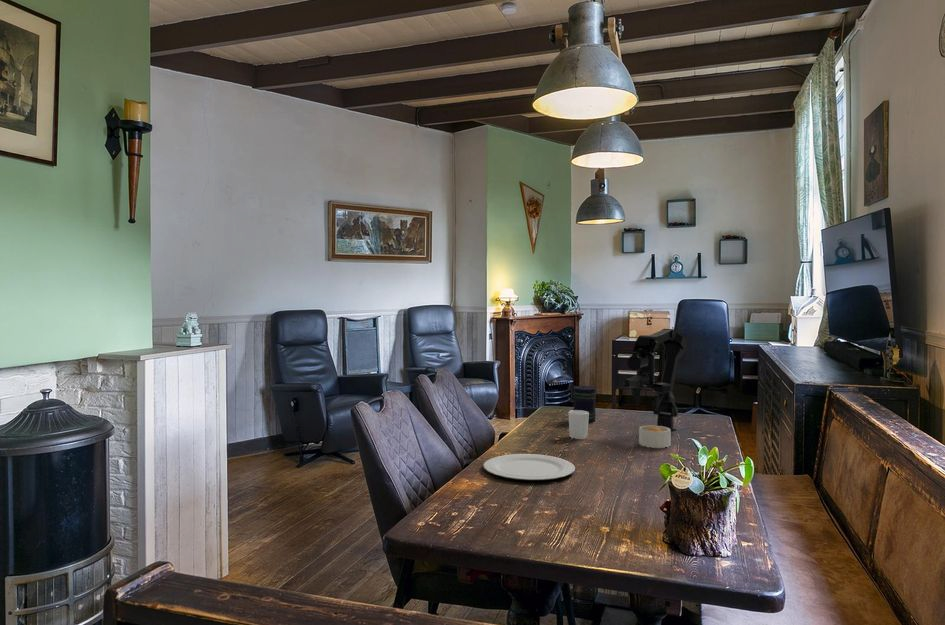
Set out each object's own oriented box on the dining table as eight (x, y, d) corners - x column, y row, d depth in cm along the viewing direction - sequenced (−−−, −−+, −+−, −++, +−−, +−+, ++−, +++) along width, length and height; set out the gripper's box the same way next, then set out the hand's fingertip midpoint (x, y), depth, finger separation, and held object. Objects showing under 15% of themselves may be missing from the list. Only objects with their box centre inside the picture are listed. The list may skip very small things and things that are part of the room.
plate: (582, 463, 208) (582, 458, 208) (565, 489, 181) (566, 483, 181) (498, 455, 218) (498, 450, 218) (470, 479, 190) (470, 473, 190)
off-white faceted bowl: (652, 439, 242) (652, 424, 242) (676, 445, 233) (676, 429, 233) (633, 443, 236) (633, 427, 236) (656, 449, 227) (657, 433, 226)
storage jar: (597, 423, 271) (597, 389, 270) (574, 423, 271) (575, 389, 270) (593, 419, 281) (593, 385, 280) (571, 418, 281) (571, 385, 280)
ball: (653, 440, 238) (653, 424, 238) (666, 443, 234) (666, 427, 233) (642, 442, 235) (642, 426, 235) (655, 445, 230) (655, 429, 230)
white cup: (587, 435, 249) (588, 410, 248) (589, 440, 241) (589, 414, 240) (567, 434, 249) (568, 409, 249) (568, 439, 241) (569, 413, 241)
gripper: (614, 366, 249) (614, 405, 250) (653, 372, 234) (653, 413, 235) (632, 364, 255) (632, 402, 256) (671, 369, 240) (671, 409, 241)
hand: (646, 406), depth 247 cm, fingers open, 9 cm apart
